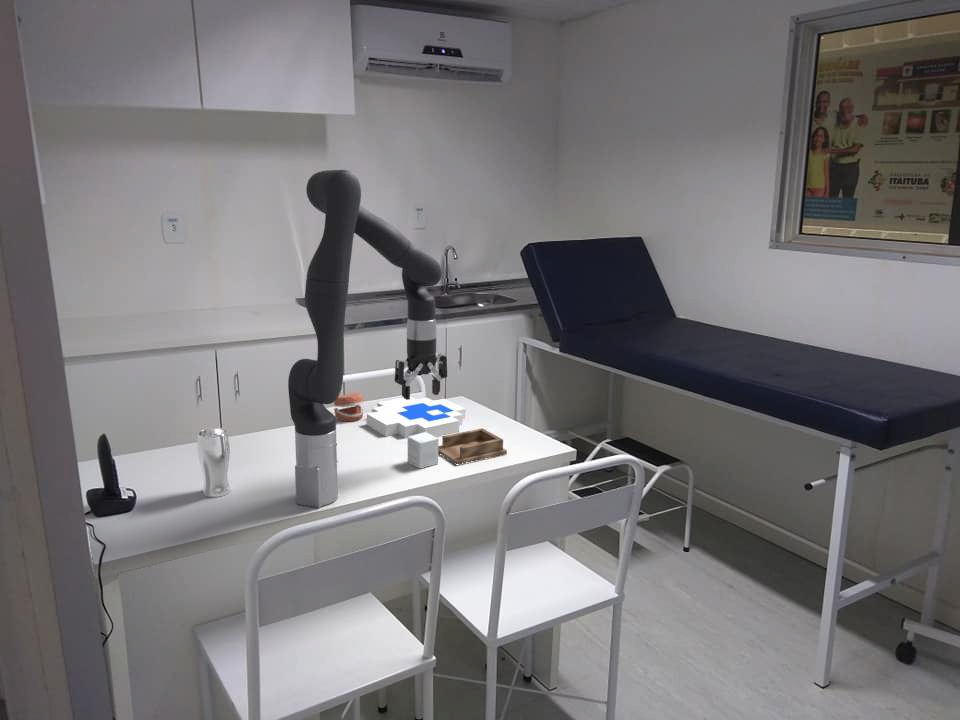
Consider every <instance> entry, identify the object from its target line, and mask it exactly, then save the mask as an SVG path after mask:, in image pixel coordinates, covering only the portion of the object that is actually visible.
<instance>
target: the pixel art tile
mask: <svg viewBox="0 0 960 720" xmlns="http://www.w3.org/2000/svg"><path fill="white" fill-rule="evenodd" d="M463 419H465V420H466V408H464V407H463V406H461V405H458V404H457V403H453V402H452V401H450V400H447V399H445V398H442V399H437V400H436V399H435V400H432V399H431V398H428V397H423V398H419V399H418V398H417V399H416V398H414V397H412V396H410V400H406V399H404V397H399V398H393V399H389V400H384V401H383V400H382V401H378V402H377V405H376V406H375V407H372V408H371V412H370V413H366V426H368V427H369V426H370V427H369V428H371V429H373V430H374V431H376V432H378V433H380V434H381V435H383V436H384V435H385V437H386V438H388V437H392V435H393V436H396V434H398V435H399V436H400V437H402V436H403V437H402V438H404V437H405V438H404V439H408V437H409V436H412V435H416V434H420V433H424V432H426V433H428V434H430V435H432V436H434V437H436V438H439V437H438V436H440V437H442V435H444V436H446V434H448V435H451V434H450V433H453V434H456V433H455V432H457V433H460V427H461V426H460V425H462V426H463V421H464V420H463Z"/></svg>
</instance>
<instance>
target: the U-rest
mask: <svg viewBox="0 0 960 720" xmlns="http://www.w3.org/2000/svg"><path fill="white" fill-rule="evenodd" d="M441 437H442V440H441V441H442V442H441V443H442V445H438V455H440V454H441V455H440V456H442V455H443V456H444V457H443V456H442V457H443V458H445V457H446V458H448V459H449V460H451V461H453V462H454V463H456V464H462V463H466V462H471V461H475V462H477V461H476V460H480V459H484V460H486V459H485V458H489V457H493V458H496V457H495V456H497V457H501V456H500V455H502V456H505V455H504V454H506V455H508V451H507V449H505V448H504V439H503V438H501V437H500V436H497V435H495V434H494V433H492V432H491V431H488V430H486V429H485V428H477V429H473V430H472V429H471V430H468V431H462V432H457V433H453V434H448V435H444V436H441ZM446 458H445V459H446ZM448 459H447V460H448ZM489 459H490V458H489ZM449 460H448V461H449ZM451 461H450V462H451ZM480 461H481V460H480ZM454 463H453V464H454ZM471 463H472V462H471ZM456 464H455V465H456ZM462 465H463V464H462Z"/></svg>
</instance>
